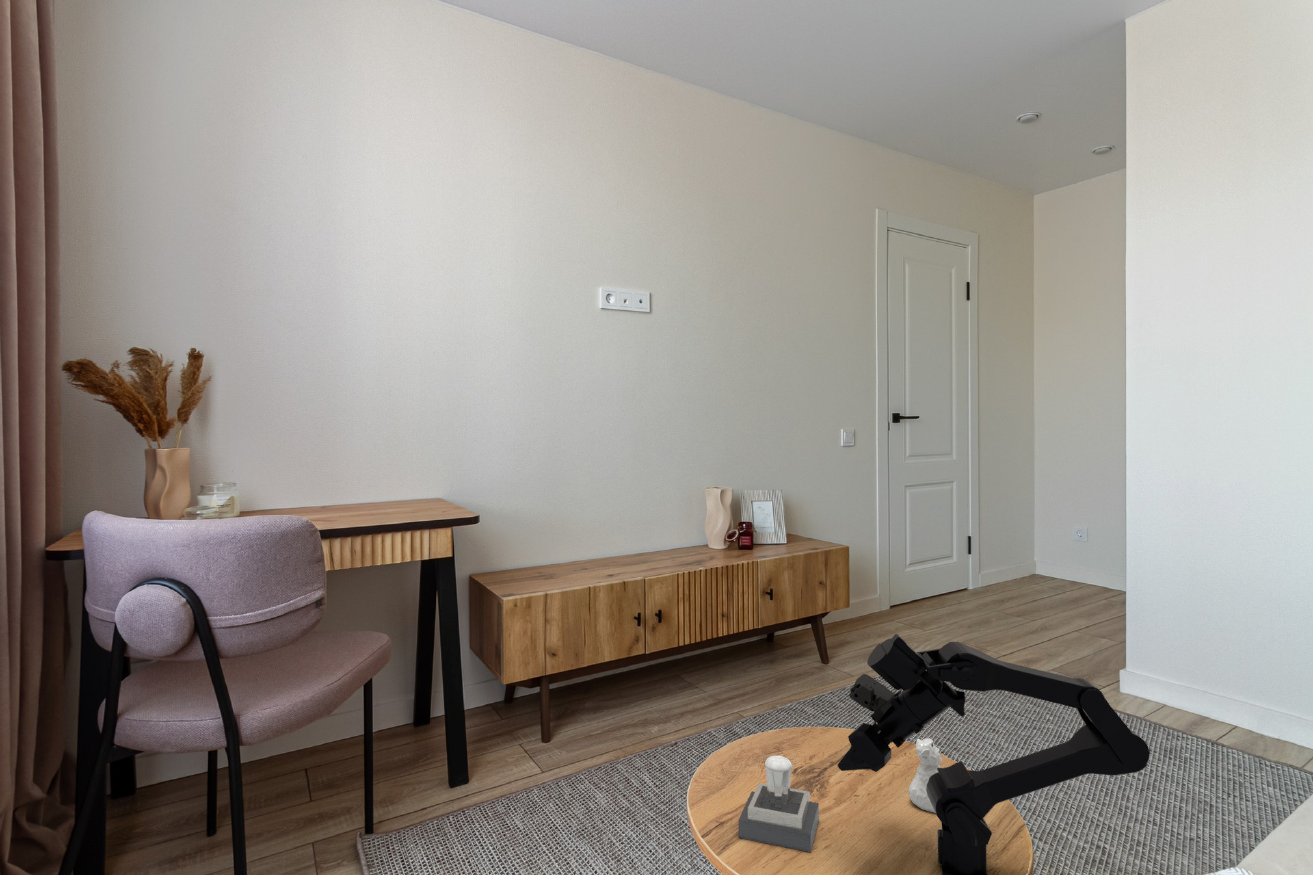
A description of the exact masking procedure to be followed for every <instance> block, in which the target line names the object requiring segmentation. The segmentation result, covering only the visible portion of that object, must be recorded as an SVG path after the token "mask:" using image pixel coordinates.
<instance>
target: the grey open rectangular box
mask: <svg viewBox="0 0 1313 875" xmlns="http://www.w3.org/2000/svg"><path fill="white" fill-rule="evenodd" d="M810 794H811V792H810V791H807V790H801V789H796V788H791V787H790V795H789V810H788V813H785V812H779V811H774V810H769V803H768V790H767V783H762V782H761V783H760V782H759V783H758V784H757V787H756V789H755V791H754V790H753V791H751V792H750V794H749V795H748V799H747V801H746V803H745V805H744V807H743V809H742V811H741V814H740V815H739V818H738V838H739V839H743V840H748V841H752V842H753V841H754V842H759V843H764V844H769V845H771V846H772V845H773V846H777V847H781V848H782V847H783V848H788V849H791V850H792V849H793V850H798V851H803V852H808V853H811V852H812V849H813V845H814V840H815V837H816V833H817V828H818V825H819V820H820V816H819V814H820V811H819V809H820V807H819V806H820V805H819V802H816V801H815V802H814V801H810V798H811V797H810Z"/></svg>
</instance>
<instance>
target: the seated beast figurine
mask: <svg viewBox="0 0 1313 875" xmlns="http://www.w3.org/2000/svg"><path fill="white" fill-rule="evenodd" d="M915 748H916V749H915V752H916V755H917V758H918V759H919V762H920V764H919V766H918V767H917V768H916V773H915V774H914V775H915V776H914V777H913V779H912V780H911V783H910V785H909V786H908V795H909V798H910V800H911V802H912V803H913V804H914V805H915V806H917V807H918V808H920V810H922V811H926V812H931V813H933V814H936V813H935V810H934V808H933V806H932V804H931V802H930V800H929V798H928V795H927V791H926V787H927V783H928V781H929V778H930V777H931V776H932V775H933V774H935V773H938V770H937V768H941V765H940V764H939V763H942V762H943V758H942V757H941V753H940V750H941V749H940V748H938V747H937V746H935V743H934V740H933V739H931V738H930V737H928V738H927V737H925V738H923V739H920V738H917V739H916V743H915Z"/></svg>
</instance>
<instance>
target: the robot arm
mask: <svg viewBox="0 0 1313 875" xmlns="http://www.w3.org/2000/svg"><path fill="white" fill-rule="evenodd" d="M866 663H867V665H868V667H869V668H871V669H872V670H873V671H874V672H875V673H876V674H878V675H879V677H881V678H882V679H883V680H884V681H885V682H886V683H887V684H889V685H890V687H892V689H894V690H896V691H897V692H895V693H894V692H893V691H891V690H890V689H889V688H888V687H887V686H885V684H882V683H881V682H879V681H878V680H876V679H875V678H873V677H872V676H870V675H869V674H865V673H863V674H862V675H860V676H858V677H857V679H856V680H855V682H854V684H853V685H852V687H850V689H849V691H850V692H849V695H848V696H849V698H850V699H851V700H852V701H854V702H855V703H857V704H858V705H860V706H861V707H862V708H863V709H867V710H868V711H870V712H872V713H871V714H870V715H869V718H871V719H872V720H873V722H874V723H873V724H869V723H865V722H862V723H861V724H860V725H858V727H856V728H855V729H854V730H852V732H850V733H849V735H848V736H847V738H848V741H849V743H850V748H849V749H848V750H847V752H846V753H845V755H844V756H843V757H842V758H841V759H840V761H839V762H838V763H837V768H838V769H839V770H840V771H841V772H845V771H859V770H860V771H861V770H864V771H866V770H868V771H869V770H871V771H873V772H874V773H877V772H879V771H880V770H881V769H883V768H884V767H885V766H887V764H888V763H889V761H890V760H891V759H892V748H891V747H890V746H889V745H891V743H893V744H894V746H896V748H900V747H901V746H903V744H905V742H906V740H907V739H909V738H910V737H912V736H914V734H916V735H918V734H920V732H921V731H923V729H924V727H926V726H927V725H928V724H929V723H931V722H933V721H934V719H936V718H938V716H941V715H942V714H943V713H944V712H946V711H947V710H949V709H950V708H951V709H952V710H954V712H955V713H957V714H958V716H960V717H965V716H966V713H965V712H966V711H965V704H966V701H967V700H966V692H965V691H972V692H983V693H984V692H985V693H986V692H991V691H1004V692H1009V693H1012V694H1017V695H1020V696H1025V697H1029V698H1033V699H1037V700H1042V701H1046V702H1050V703H1054V704H1057V705H1062V706H1065V707H1070V708H1074V709H1076V712H1077V714H1078V715H1079V717H1080V719H1081V720H1082V721H1083V723H1084V725H1083V726H1081V727H1079V729H1078V730H1077V731H1076V732H1075V733H1074V735H1073V736H1071V738H1070V739H1069V740H1067V741H1064V742H1062V743H1059V744H1056V745H1053V746H1049V747H1048V748H1047V747H1046V748H1044V749H1041V750H1038V751H1036V752H1033V753H1030V754H1027V755H1026V754H1025V755H1023V756H1021V757H1018V758H1014V759H1012V760H1010V761H1009V760H1007V761H1005V762H1003V763H1000V764H997V765H994V766H991V767H987V768H985V769H983V770H982V769H980V770H971V769H967V767H966V765H965V764H964V763H963V761H957V762H955V763H952V764H951V765H950V766H947V767H940V768H937V770H938V773H935V774H933V775H932V776H931V777H930V778H929V781H928V783H927V787H926V791H927V795H928V798H929V800H930V802H931V804H932V806H933V808H934V810H935V813H934V814H936V816H937V819H938V820H939V821H940V823H941V829H940V828H938V829H937V863H938V864H939V865H941V867H940V868H941V875H988V868H987V865H988V864H987V845H989V842H990V841H991V840H990V839H991V837H992V834H993V832H992V830H991V829H990V827H989V826H988V824H987V822H986V820H985V817H986V816H987V815H988V814H989V812H990V811H991V810H992V809H994V807H995V806H996V805H998V804H1000V803H1004V802H1006V801H1009V800H1012V799H1015V798H1019V797H1022V796H1023V795H1024V796H1025V795H1028V794H1030V793H1034V792H1036V791H1039V790H1042V789H1045V788H1048V787H1052V786H1055V785H1058V784H1061V783H1064V782H1067V781H1070V780H1072V779H1076V778H1079V777H1082V776H1086V775H1098V776H1099V775H1100V776H1101V775H1102V776H1111V777H1112V776H1114V777H1115V776H1122V775H1128V774H1135V773H1139V772H1141V771H1142V770H1144V769H1145V768H1146V767H1147V766H1148V762H1149V759H1150V748H1149V746H1148V744H1147V743H1146V741H1145V740H1144V739H1143V738H1142V737H1140V736H1139V735H1138V734H1137V733H1135V732H1134V731H1133V730H1131V728H1129V727H1128V725H1126V723H1125V721H1124V720H1123V719H1122V718H1121V717H1120V716H1119V714H1118V713H1117V712H1116V711H1115V710H1114V707H1112V706H1111V705H1110V703H1109V702H1108V701H1107V699H1106V697H1105V695H1104V694H1103V691H1101V690H1100V689H1099V688H1098V687H1096V686H1095V685H1094V684H1092V683H1091V682H1090V681H1088V680H1086V679H1084V678H1079V677H1078V678H1073V677H1069V676H1066V675H1062V674H1058V673H1054V672H1053V673H1052V672H1049V671H1045V670H1041V669H1040V670H1039V669H1037V668H1031V667H1027V666H1025V665H1020V664H1015V663H1011V662H1007V661H1002V660H1000V659H998V658H995V657H993V656H991V655H989V654H987V653H985V652H983V651H981V650H980V649H976V648H975V647H973V646H969V645H967V644H965V643H962V642H959V641H948V642H947V643H946V644H944V645H942V646H941V647H940V648H936V649H935V648H934V649H929V650H922V651H917V652H916V650H914V649H913V648H912V647H911V646H910V645H908V643H907V642H906V641H905V639H904V638H902V637H901V636H900V635H899V634H898V633H895V634H894V635H893V636H891V638H888V639H885V640H884V641H883V642H881V643H878V644H877V645H876V646H875V647H874V648H873V649H872V651H871V653H870V654H869V656H868V658H867V662H866ZM949 683H950V684H951V685H952V686H954V687H955V688H957V689H959V690H957V689H955V688H953V687H952V686H951V685H949ZM960 690H961V691H960Z"/></svg>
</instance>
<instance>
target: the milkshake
mask: <svg viewBox="0 0 1313 875" xmlns="http://www.w3.org/2000/svg"><path fill="white" fill-rule="evenodd" d="M796 757H797V754H795V756H794V759H793V761H792V762H791V761H790V760H789V758H787V757H784V756H782V755H771V756H768V758H767V759H766V760H765V763H764V766H765V776H766V784H767V790H768V803H769V810H774V811H779V812H785V813H788V810H789V795H790V788H791V780H792V779H791V778H792V770H793V769H792V767H793V764H794V762H795V759H796Z"/></svg>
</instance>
